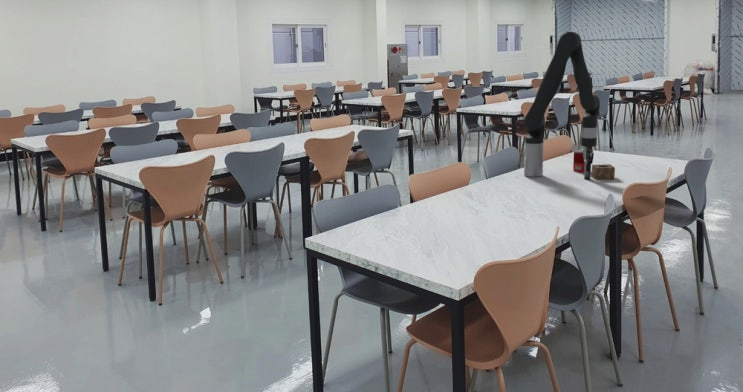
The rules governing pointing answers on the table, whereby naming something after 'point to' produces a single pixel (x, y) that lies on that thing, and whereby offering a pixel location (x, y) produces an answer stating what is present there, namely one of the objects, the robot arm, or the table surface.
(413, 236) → the table surface
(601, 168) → the socket block
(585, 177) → the pin
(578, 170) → the canned food
